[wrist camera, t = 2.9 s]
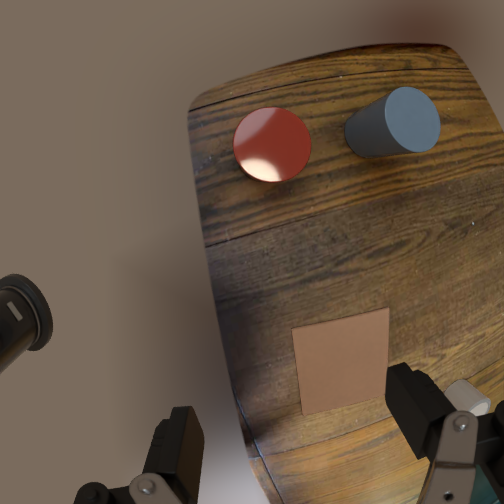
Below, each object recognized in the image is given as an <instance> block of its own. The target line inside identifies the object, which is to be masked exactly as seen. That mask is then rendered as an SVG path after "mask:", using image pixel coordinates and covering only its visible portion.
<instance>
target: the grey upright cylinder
mask: <svg viewBox="0 0 504 504" xmlns="http://www.w3.org/2000/svg"><path fill="white" fill-rule="evenodd" d="M439 135H440V118H439V114H438V112H437V109H436V107H435V106H434V104H433V102H432V101H431V100H430V99H429V98H428V97H427V96H426V95H425V94H424V93H423V92H421V91H419V90H417V89H415V88H411V87H401V88H398V89H396V90H394V91H392V92H390V93H388V94H386V95H385V96H383V97H381V98H379V99H377V100H375V101H374V102H372V103H370V104H368V105H367V106H365V107H363V108H361V109H359V110H358V111H356V112H354V113H353V114H352V115H350V117H349V118H348V120H347V122H346V125H345V137H346V140H347V143H348V145H349V146H350V148H351V149H352V150H353V151H354V152H355V153H356V154H358V155H360V156H362V157H364V158H378V157H386V156H394V155H402V154H411V153H420V152H425V151H427V150H429V149H431V148H432V147H433V146H434V145H435V143H436V142H437V140H438V138H439Z"/></svg>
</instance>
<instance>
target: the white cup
mask: <svg viewBox="0 0 504 504" xmlns="http://www.w3.org/2000/svg"><path fill="white" fill-rule="evenodd" d="M444 395H445V396H446V397H447V398H448V400H449V401H450V402H451V403H452V404H453V406H454V407H455V408H456V409H457V410H458V411H459V410H464V411H469V412H471V413H473V414H474V415H475V416H480V415H484V414H487V413H488V411H489V409H490V406H491V401H490V399H488V398H487V397H486V396H485V395H484V394H482V393H481V392H480V391H479V390H477V389H476V388H475V387H474V386H472V385H471V384H470V383H469V382H468V381H466V380H464V379H459V380H457V381H455V382H454V383H452V384H451V385H450V386H449V387H448V388H447V389H446V391H445V392H444Z"/></svg>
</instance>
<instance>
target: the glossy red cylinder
mask: <svg viewBox="0 0 504 504" xmlns="http://www.w3.org/2000/svg"><path fill="white" fill-rule="evenodd" d="M233 151H234V155H235V158H236V160H237V163H238V166H239V168H240V169H241V171H242V172H243V173H244V174H245V175H246V176H247V177H248V178H250V179H252V180H254V181H258V182H267V183H278V182H283V181H286V180H289V179H291V178H293V177H294V176H296V175H297V174H298V173H299V172H301V171H302V169H303V168H304V167H305V165H306V164H307V162H308V160H309V157H310V153H311V138H310V134H309V132H308V129H307V128H306V126H305V124H304V123H303V122H302V120H301V119H300V118H299V117H297V116H296V115H295V114H293V113H292V112H290V111H288V110H286V109H282V108H278V107H264V108H260V109H257V110H255V111H253V112H251V113H249V114H248V115H247V116H245V117H244V118H243V119H242V120H241V122H240V123H239V125H238V126H237V128H236V130H235V133H234V137H233Z"/></svg>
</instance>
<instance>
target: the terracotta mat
mask: <svg viewBox="0 0 504 504" xmlns="http://www.w3.org/2000/svg"><path fill="white" fill-rule="evenodd" d="M291 330H292V337H293V345H294V352H295V359H296V367H297V375H298V382H299V390H300V398H301V406H302V414H303V416H304V415H309V414H314V413H319V412H323V411H328V410H332V409H336V408H340V407H344V406H348V405H352V404H356V403H359V402H363V401H366V400H370V399H373V398H377V397H380V396H383V395H385V387H386V372H387V365H388V344H389V307H385V308H381V309H377V310H373V311H369V312H365V313H361V314H356V315H352V316H348V317H343V318H339V319H334V320H330V321H325V322H320V323H315V324H310V325H305V326H300V327H295V328H291Z"/></svg>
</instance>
